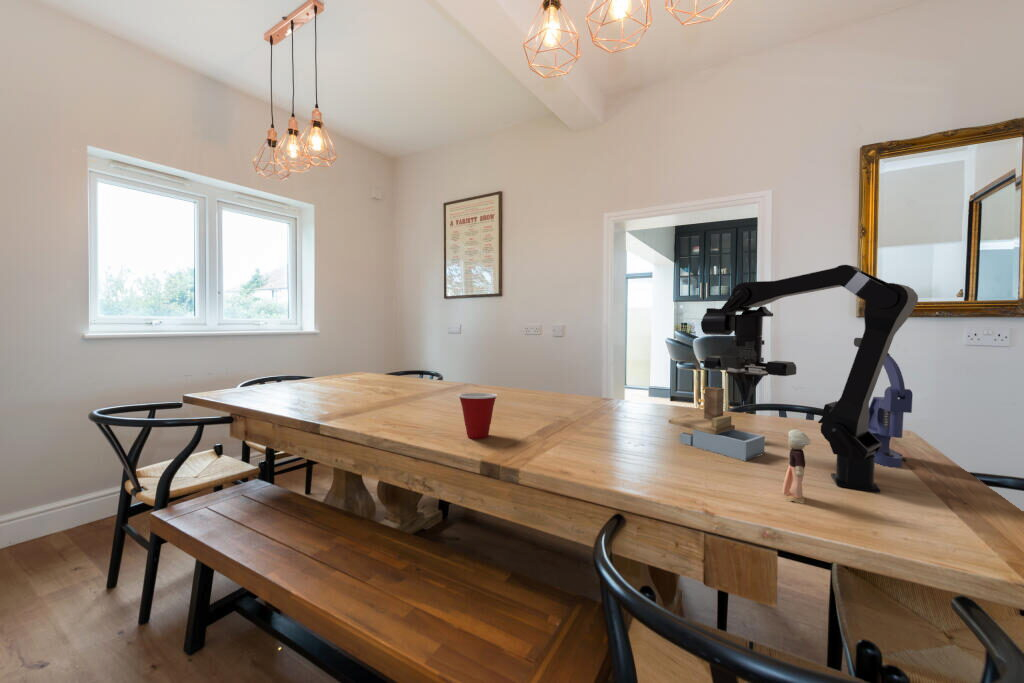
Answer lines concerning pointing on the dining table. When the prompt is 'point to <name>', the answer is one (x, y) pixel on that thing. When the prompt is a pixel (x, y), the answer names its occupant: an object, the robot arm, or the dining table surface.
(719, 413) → the brown wooden block
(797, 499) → the grandmother figurine
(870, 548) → the dining table surface
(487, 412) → the plastic cup
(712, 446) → the grey storage box
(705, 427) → the lid
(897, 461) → the hand press
